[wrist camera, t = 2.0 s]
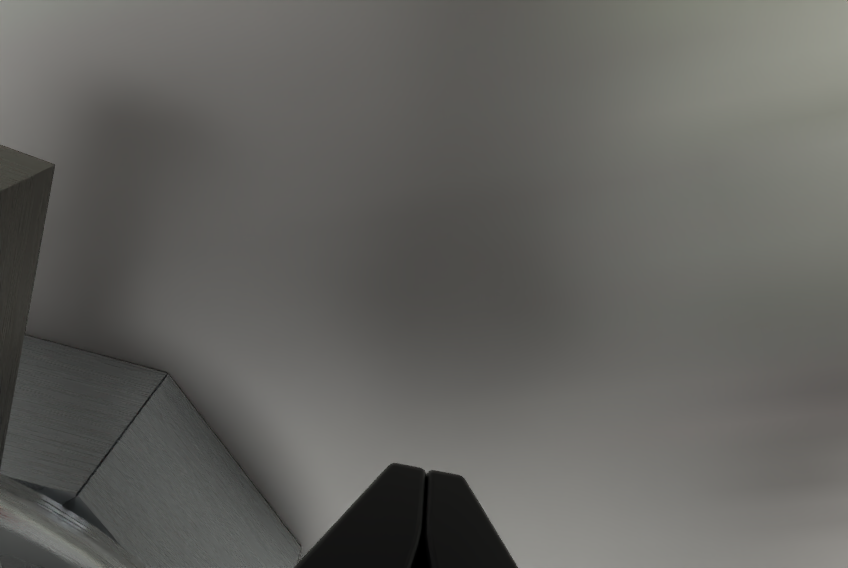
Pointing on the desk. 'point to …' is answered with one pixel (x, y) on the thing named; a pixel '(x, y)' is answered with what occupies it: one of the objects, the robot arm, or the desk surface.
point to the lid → (3, 339)
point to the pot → (136, 463)
